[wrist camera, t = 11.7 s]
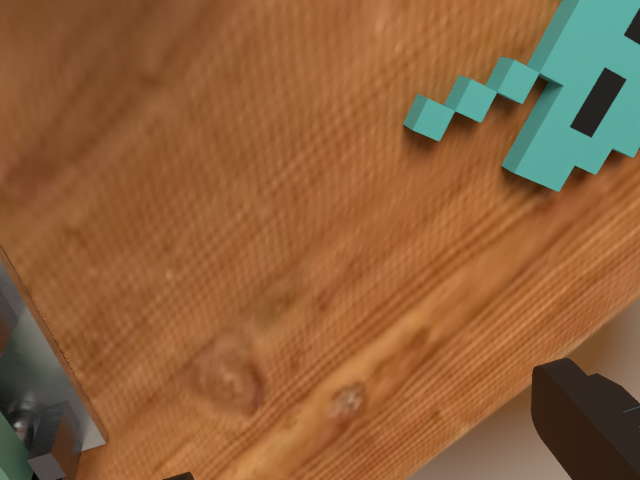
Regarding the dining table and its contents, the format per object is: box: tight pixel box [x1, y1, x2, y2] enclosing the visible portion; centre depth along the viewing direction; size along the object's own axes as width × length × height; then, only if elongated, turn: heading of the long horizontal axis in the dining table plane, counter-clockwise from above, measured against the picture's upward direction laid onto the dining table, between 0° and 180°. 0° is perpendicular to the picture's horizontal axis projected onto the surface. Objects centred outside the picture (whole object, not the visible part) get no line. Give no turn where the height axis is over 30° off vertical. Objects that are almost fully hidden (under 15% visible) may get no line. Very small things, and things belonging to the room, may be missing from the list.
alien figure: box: [403, 0, 640, 192], centre depth 36 cm, size 20×2×20 cm
